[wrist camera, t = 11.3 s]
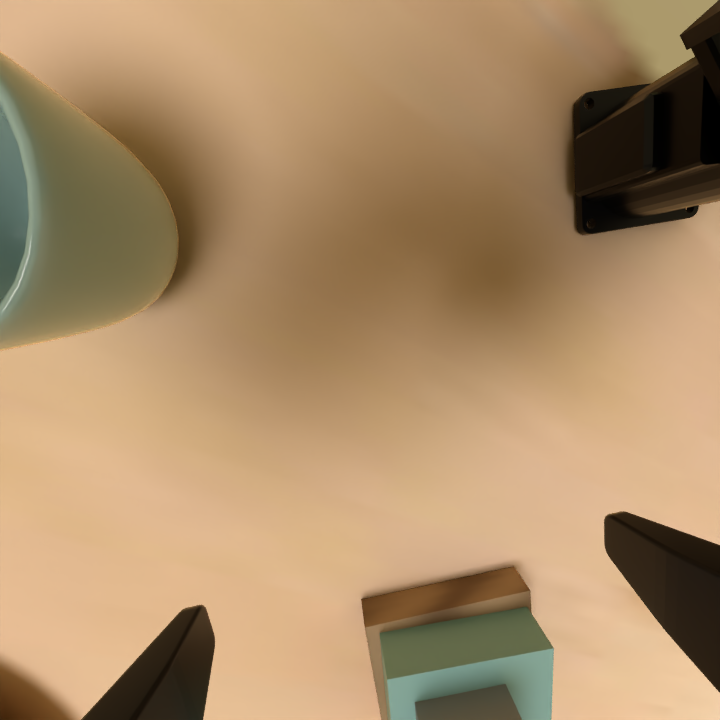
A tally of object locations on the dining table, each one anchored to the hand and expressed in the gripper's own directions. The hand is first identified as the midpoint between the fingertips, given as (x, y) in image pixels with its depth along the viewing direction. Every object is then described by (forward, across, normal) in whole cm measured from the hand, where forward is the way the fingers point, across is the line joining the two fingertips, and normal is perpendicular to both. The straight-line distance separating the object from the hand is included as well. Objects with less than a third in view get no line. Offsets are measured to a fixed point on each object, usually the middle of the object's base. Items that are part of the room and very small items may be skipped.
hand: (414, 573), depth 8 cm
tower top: (+10, -3, +18) cm, 21 cm away
